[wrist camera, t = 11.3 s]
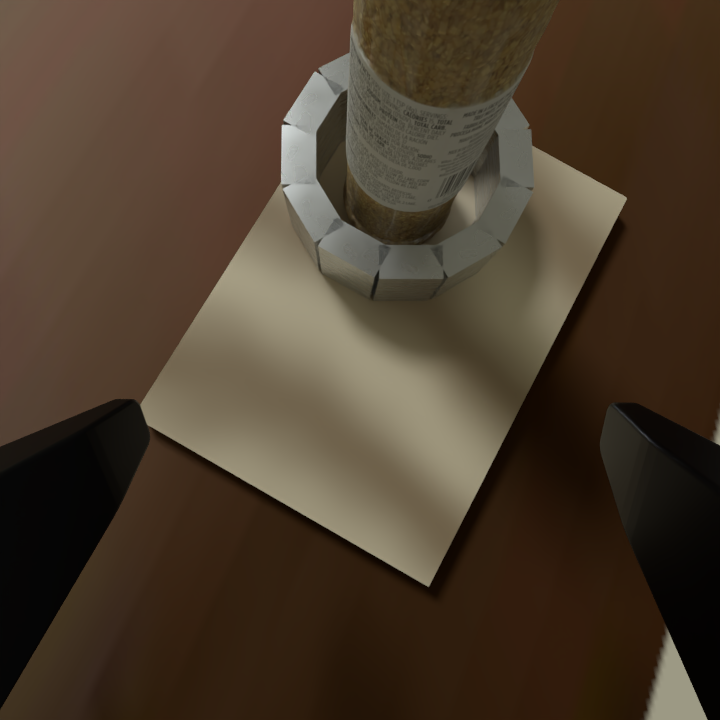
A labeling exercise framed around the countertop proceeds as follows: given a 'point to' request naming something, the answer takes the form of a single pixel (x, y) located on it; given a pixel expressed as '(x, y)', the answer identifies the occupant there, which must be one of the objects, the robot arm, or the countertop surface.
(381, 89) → the sprinkles bottle
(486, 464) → the birch board
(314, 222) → the steel collar
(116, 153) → the countertop surface
